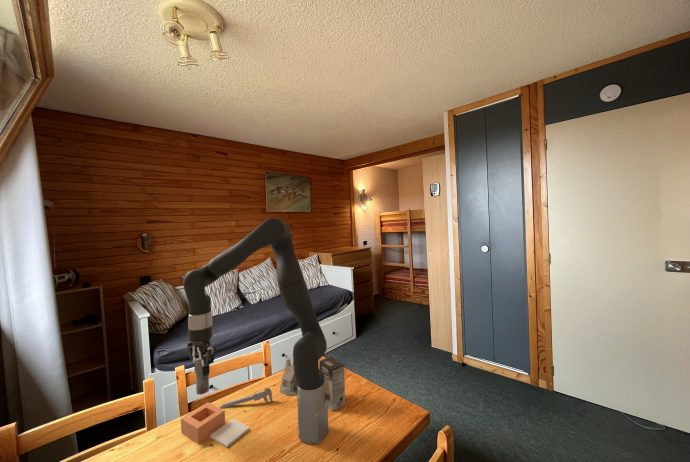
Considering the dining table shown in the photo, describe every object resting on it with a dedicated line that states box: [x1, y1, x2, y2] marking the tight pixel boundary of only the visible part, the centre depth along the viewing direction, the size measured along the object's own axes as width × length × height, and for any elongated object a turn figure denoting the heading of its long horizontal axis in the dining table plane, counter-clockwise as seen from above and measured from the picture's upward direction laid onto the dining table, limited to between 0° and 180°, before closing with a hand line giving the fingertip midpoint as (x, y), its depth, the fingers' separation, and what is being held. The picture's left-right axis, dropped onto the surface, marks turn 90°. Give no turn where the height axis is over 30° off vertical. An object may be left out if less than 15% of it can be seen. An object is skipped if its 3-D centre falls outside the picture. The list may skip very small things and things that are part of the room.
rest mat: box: [209, 418, 251, 449], centre depth 92 cm, size 9×9×1 cm
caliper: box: [218, 386, 273, 409], centre depth 108 cm, size 20×1×6 cm, turn 98°
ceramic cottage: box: [279, 357, 297, 397], centre depth 119 cm, size 16×16×15 cm
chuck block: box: [180, 401, 226, 444], centre depth 95 cm, size 10×10×5 cm
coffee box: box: [318, 356, 346, 412], centre depth 107 cm, size 9×6×16 cm
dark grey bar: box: [194, 354, 210, 395], centre depth 95 cm, size 4×4×12 cm
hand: (202, 373), depth 95 cm, fingers closed on dark grey bar, 4 cm apart
